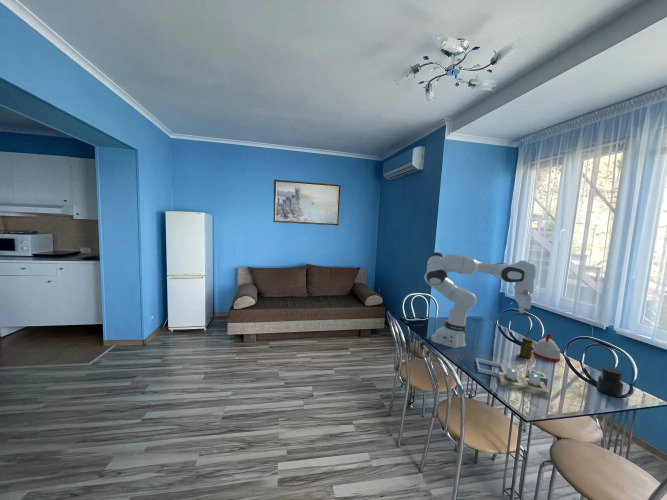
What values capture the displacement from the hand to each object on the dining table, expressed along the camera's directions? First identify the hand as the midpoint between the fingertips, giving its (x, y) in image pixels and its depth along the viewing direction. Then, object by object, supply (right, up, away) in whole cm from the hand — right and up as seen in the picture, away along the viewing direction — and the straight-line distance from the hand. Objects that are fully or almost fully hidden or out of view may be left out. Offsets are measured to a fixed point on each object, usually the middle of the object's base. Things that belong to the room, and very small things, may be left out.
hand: (521, 312), depth 155 cm
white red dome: (+30, -33, +20) cm, 49 cm away
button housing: (+1, -34, -11) cm, 36 cm away
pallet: (-12, -34, -17) cm, 40 cm away
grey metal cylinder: (-7, -34, -19) cm, 40 cm away
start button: (+1, -33, -11) cm, 35 cm away
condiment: (+13, -33, +16) cm, 39 cm away
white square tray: (-19, -32, -2) cm, 38 cm away
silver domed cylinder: (-16, -33, -16) cm, 40 cm away
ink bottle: (+32, -37, -18) cm, 52 cm away
